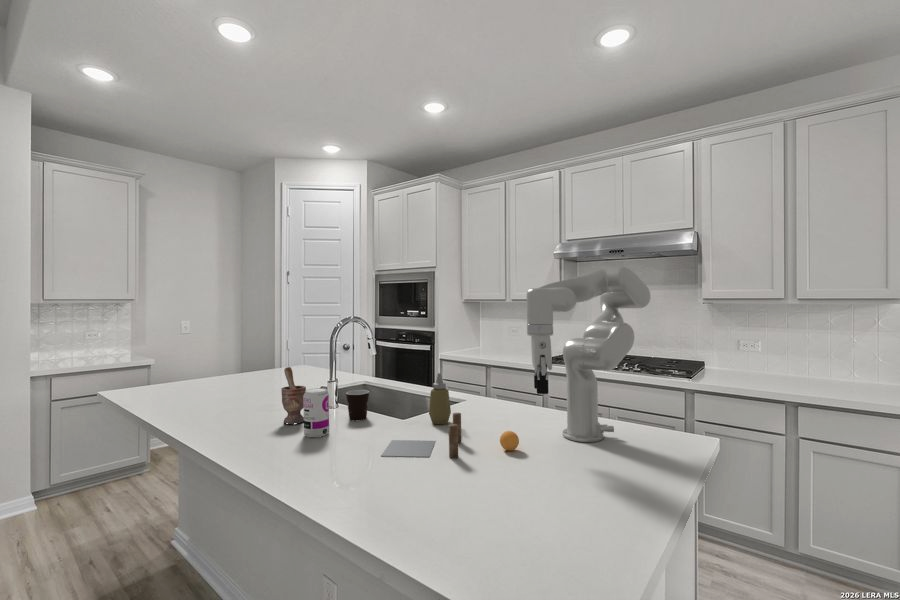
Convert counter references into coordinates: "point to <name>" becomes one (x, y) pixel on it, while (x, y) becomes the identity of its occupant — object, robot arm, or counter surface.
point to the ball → (509, 440)
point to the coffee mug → (357, 404)
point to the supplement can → (316, 412)
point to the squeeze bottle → (439, 402)
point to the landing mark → (409, 448)
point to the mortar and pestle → (292, 399)
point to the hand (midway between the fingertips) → (541, 390)
